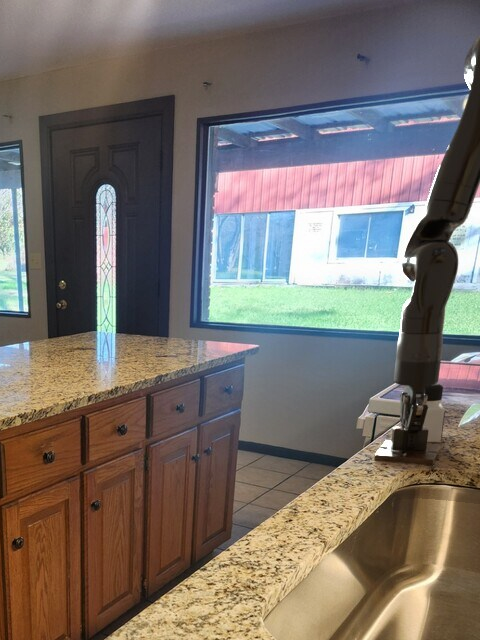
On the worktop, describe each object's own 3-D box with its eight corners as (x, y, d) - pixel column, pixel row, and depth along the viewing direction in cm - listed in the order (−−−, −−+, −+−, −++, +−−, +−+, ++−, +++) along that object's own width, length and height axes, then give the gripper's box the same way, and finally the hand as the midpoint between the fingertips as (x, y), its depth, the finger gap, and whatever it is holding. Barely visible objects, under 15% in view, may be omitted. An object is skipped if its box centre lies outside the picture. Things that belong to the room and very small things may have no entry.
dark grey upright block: (424, 448, 131) (426, 426, 129) (426, 450, 129) (428, 428, 128) (390, 447, 132) (392, 426, 131) (392, 450, 130) (394, 428, 129)
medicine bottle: (441, 442, 145) (448, 386, 141) (404, 441, 147) (410, 386, 143) (437, 435, 151) (444, 380, 147) (402, 434, 153) (408, 380, 149)
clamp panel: (439, 459, 134) (441, 443, 133) (432, 475, 124) (434, 459, 123) (383, 454, 139) (385, 439, 138) (372, 470, 129) (374, 453, 128)
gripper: (449, 362, 117) (437, 459, 123) (432, 352, 130) (422, 440, 136) (402, 363, 119) (392, 458, 125) (390, 352, 132) (381, 440, 138)
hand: (408, 448), depth 131 cm, fingers closed on dark grey upright block, 2 cm apart
